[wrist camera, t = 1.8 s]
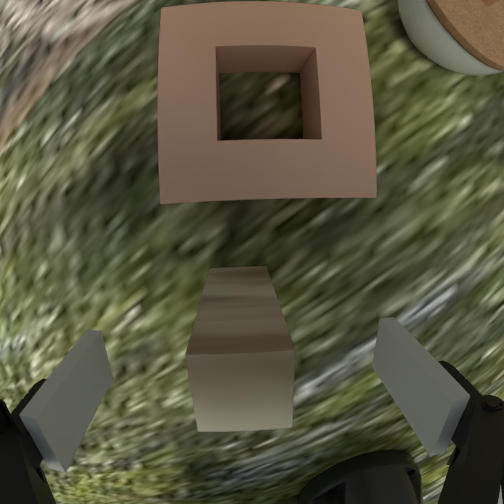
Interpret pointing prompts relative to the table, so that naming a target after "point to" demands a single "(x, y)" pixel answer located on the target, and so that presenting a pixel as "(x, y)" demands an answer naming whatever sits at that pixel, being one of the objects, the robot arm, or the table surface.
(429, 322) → the table surface
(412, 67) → the table surface
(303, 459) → the table surface
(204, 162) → the socket block
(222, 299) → the peg
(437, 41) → the lidded jar
